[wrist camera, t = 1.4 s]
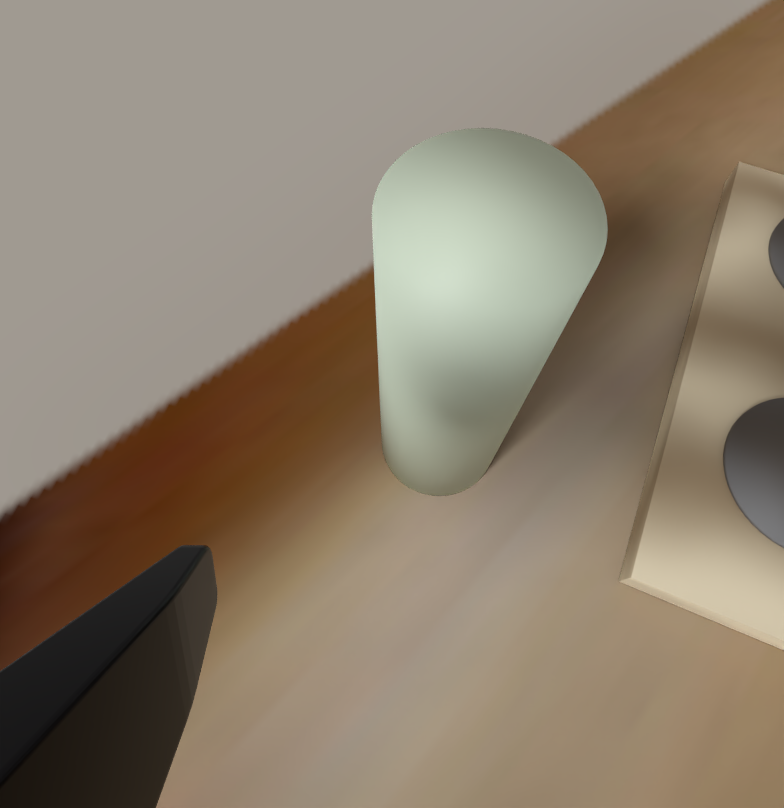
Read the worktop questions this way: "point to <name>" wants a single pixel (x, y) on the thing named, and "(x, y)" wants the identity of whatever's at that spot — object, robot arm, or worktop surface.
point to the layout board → (724, 431)
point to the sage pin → (473, 292)
